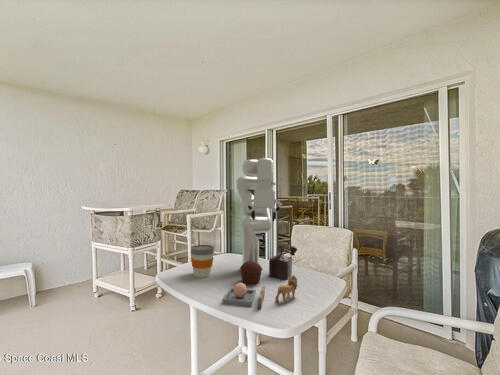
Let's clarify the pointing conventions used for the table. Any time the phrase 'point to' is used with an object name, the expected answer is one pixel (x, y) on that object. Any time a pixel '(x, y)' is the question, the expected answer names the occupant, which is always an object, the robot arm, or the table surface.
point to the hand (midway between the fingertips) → (263, 220)
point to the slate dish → (234, 300)
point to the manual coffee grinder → (281, 264)
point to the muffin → (251, 273)
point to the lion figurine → (287, 289)
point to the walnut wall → (261, 297)
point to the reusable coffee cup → (202, 260)
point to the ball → (240, 290)
